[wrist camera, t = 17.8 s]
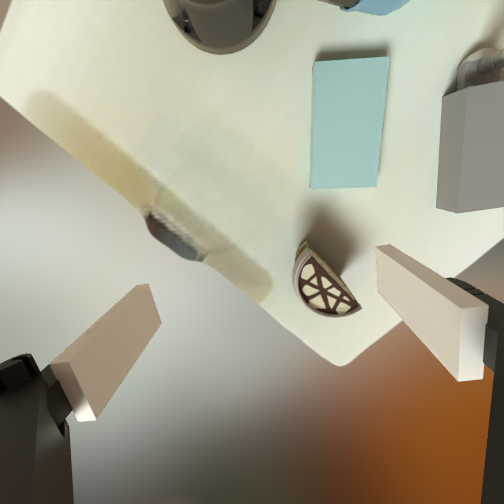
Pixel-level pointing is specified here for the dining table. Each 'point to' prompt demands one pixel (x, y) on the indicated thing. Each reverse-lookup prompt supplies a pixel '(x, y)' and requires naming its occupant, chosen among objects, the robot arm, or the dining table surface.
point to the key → (491, 63)
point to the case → (472, 140)
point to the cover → (347, 122)
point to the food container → (321, 285)
